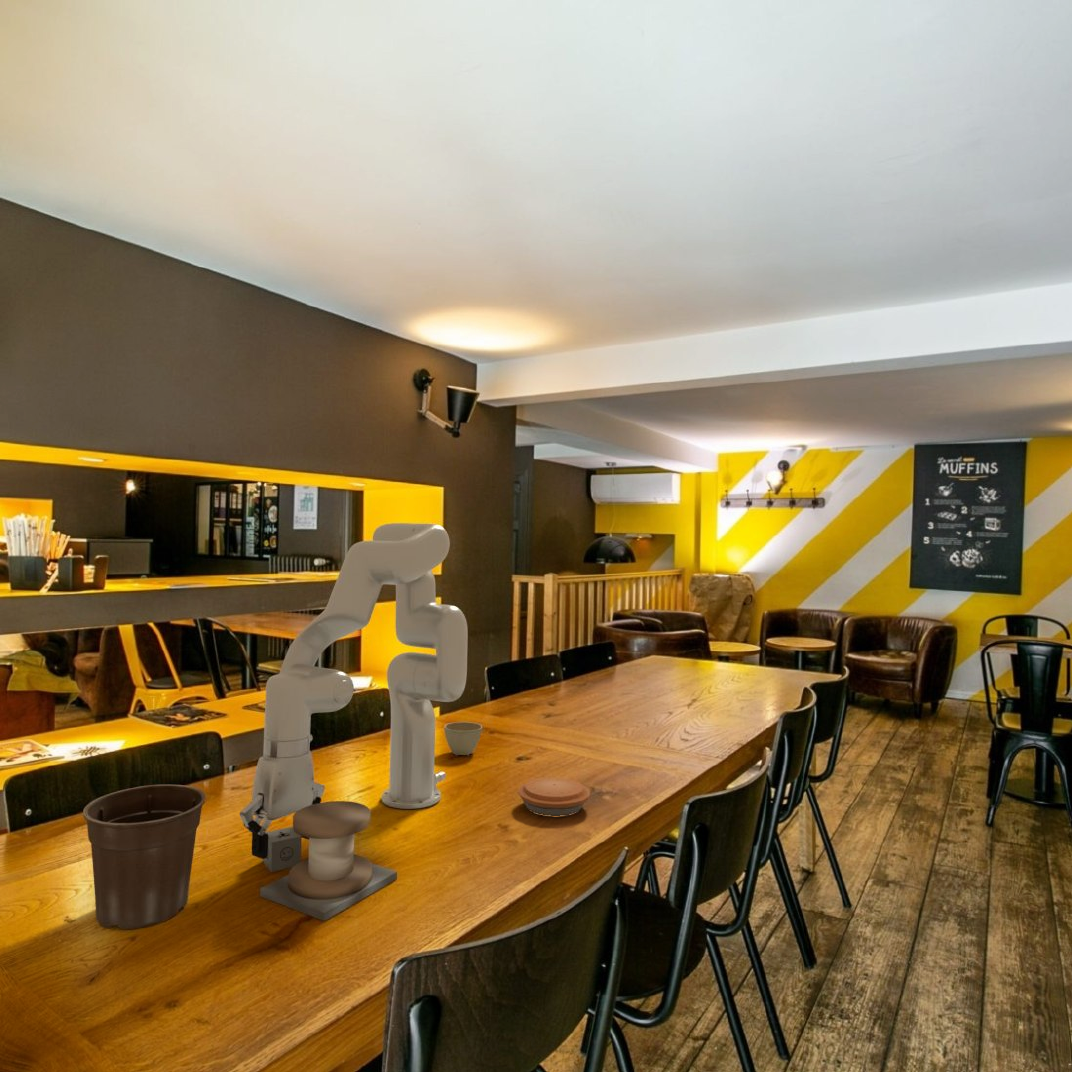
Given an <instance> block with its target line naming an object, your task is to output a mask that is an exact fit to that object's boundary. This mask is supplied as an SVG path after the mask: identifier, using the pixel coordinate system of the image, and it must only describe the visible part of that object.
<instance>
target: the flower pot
mask: <svg viewBox="0 0 1072 1072" xmlns="http://www.w3.org/2000/svg"><path fill="white" fill-rule="evenodd" d="M443 727H444V728H443V729H444V736H445V739H446V743H447V745H448V747H449V749H450V751H451V752H452V754H453V755H454V754H455V755H454V756H458V755H467V756H470V755H469V754H471V753H472V754H473V753H474V751H475V749H477V745H478V744H479V741H480V738H481V735H482V730H483V726H482V724H479V723H477V722H470V721H457V722H450V723H446V724H445V725H444V726H443ZM472 754H471V755H472Z"/></svg>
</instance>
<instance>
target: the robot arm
mask: <svg viewBox="0 0 1072 1072" xmlns="http://www.w3.org/2000/svg"><path fill="white" fill-rule="evenodd" d="M450 541H451V540H450V537H449V534H448V532H447V530H446V529H445V528H444V527H442V526H441V525H439V524H436V523H409V522H408V523H407V522H406V523H405V522H403V523H402V522H393V523H386V524H382V525H380V526H378V527H376V528H375V530H374V532H373V534H372V540H363V541H359V542H355V543H354V544H352V545H351V546H350V548H349V549H348V551H347V552H346V556H345V558H344V561H343V563H342V566H341V568H340V570H339V573H338V576H337V578H336V581H335V584H334V586H333V589H332V592H331V594H330V595H329V596H330V597H329V600H328V603H327V605H326V607H325V608H324V610H323V611H321V613H320V614H319V615H318V616H317V617H315V618H314V619H313V620H312V621H311V622H310V623H308V624H307V625H306V627H305V628H303V630H302V631H301V632H299V633H298V634H297V636H296V637H295V638H294V640H293V641H292V643H291V644H290V645H289V648H288V649H287V651H286V654H285V657H284V660H283V662H282V663H281V668H280V670H279V673H277V674H274V675H272V676H270V677H268V679H267V681H266V683H265V684H266V685H265V703H264V705H265V706H264V710H265V711H264V729H263V753H262V754H263V755H262V756H260V757H259V759H258V761H257V765H256V769H255V773H254V774H255V775H254V780H253V788H252V794H251V795H252V796H251V801H250V802H249V803H248V804H247V805H246V806H244V808H242V809H241V810H240V812H239V817H240V818H241V821H242V823H243V827H245V828H246V829H247V830H248V832H250V833H251V855H252V856H254V857H256V858H259V859H262V860H263V859H265V858H267V856H268V834H266V833H265V832H267V830H268V828H269V827H270V825H271V823H272V822H273V821H275V820H278V819H281V818H284V817H287V816H289V815H292V814H295V813H296V812H297V811H299V810H300V809H302V808H305V807H307V806H310V805H313V804H318V803H322V797H323V795H324V792H325V790H326V786H325V784H321V783H318V782H316V781H315V770H314V761H313V756H312V755H313V754H312V751H311V750H310V743H311V742H312V741H313V735H312V734H311V720H312V719H311V716H312V714H315V713H317V714H318V713H331V712H337V711H339V710H341V709H343V708H345V707H346V706H347V705H348V704H349V703H350V701H351V699H352V698H353V695H354V690H355V687H354V682H353V680H352V678H351V677H350V676H349V675H348V674H347V673H346V672H345V671H341V670H340V669H333V668H327V667H326V668H325V667H322V666H321V667H320V666H315V665H316V663H317V661H318V659H319V657H320V655H321V654H322V653H323V652H324V651H325V650H326V649H327V648H328V647H329V646H330V645H331V644H333V643H335V642H336V641H338V640H339V639H341V638H344V637H346V636H348V635H350V634H353V633H355V632H357V631H359V630H363V628H366V627H367V626H368V625H369V623H370V620H371V619H372V615H373V612H374V609H375V606H376V604H377V602H378V598H379V596H380V592H381V589H382V587H383V585H393V586H394V585H395V625H394V626H395V636H396V639H397V641H398V642H400V643H401V644H402V645H403V646H404V645H405V646H408V647H415V648H421V649H430V650H431V649H433V650H435V652H436V653H435V654H432V653H425V652H416V651H415V652H414V651H413V652H411V651H409V652H402V653H400V654H398V655H396V656H394V657H393V659H391V661H390V662H389V664H388V667H387V672H386V680H387V687H388V692H389V699H390V700H389V701H390V742H389V743H390V744H389V745H390V746H389V748H390V749H389V787H388V789H386V790H384V791H383V792H382V794H381V802H382V803H383V804H384V805H386V806H388V807H391V808H393V809H394V808H395V809H404V810H412V809H413V810H415V809H423V808H427V807H431V806H433V805H436V804H437V803H438V802H440V800H441V798H442V796H441V795H442V793H441V791H440V790H439V789H438V788H437V784H438V783H439V782H442V781H444V780H445V779H446V777H447V774H446V772H445V771H443V770H442V771H441V770H440V771H438V772H437V773H436V772H435V755H436V753H435V752H436V751H435V748H436V714H435V710H434V708H433V704H432V702H431V701H436V702H443V703H451V702H455V701H457V700H458V699H460V697H461V696H462V695H463V693H464V691H465V688H466V686H467V685H466V684H467V676H468V675H467V672H468V637H469V636H468V635H469V634H468V622H467V618H466V616H465V614H464V613H463V611H462V610H461V609H460V608H459V607H458V606H455V605H451V604H441V603H437V600H436V599H437V598H436V597H437V596H436V595H437V594H436V592H437V591H436V578H435V574H434V572H433V569H436V567H438V566H439V565H440V564H441V563H443V562H444V560H445V559H446V558H447V556H448V554H449V551H450V548H451V547H450V545H451V542H450ZM254 816H255V817H254ZM302 839H305V840H307V841H309V838H308V837H304V836H302Z"/></svg>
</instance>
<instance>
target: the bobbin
mask: <svg viewBox="0 0 1072 1072" xmlns="http://www.w3.org/2000/svg"><path fill="white" fill-rule="evenodd" d="M293 814H294V815H293V816H292V827H293V830H294V832H295V833H297V834H299V835H301V836H304V837H308V838H309V840H308V858H306V859H304V860H301V862H299V863H298V864H296V865H295V866H294V867H291V868H290V870H289V872H288V874H287V875H286V876H283V877H281V878H279V879H277V880H275V881H273V882H270V883H268V884H267V885H265V886H263V887H260V888H259V896H260V897H262V898H263V899H266V900H269V901H270V902H275V903H276V904H280V905H281V906H284V907H286V908H290V909H292V910H295V911H297V912H299V913H302V914H304V915H308V916H310V917H313V918H315V919H318V920H320V921H323V922H326V921H328V920H329V919H331V918H332V917H334V916H336V915H337V914H339V913H341V912H342V911H344V910H346V909H348V908H350V907H352V906H353V905H355V904H356V903H358V902H360V901H362V900H364V899H365V898H367V897H368V896H370V895H372V894H374V893H376V892H377V891H379V890H380V889H382V888H384V887H386V886H387V885H389V884H390V883H393V882H394V881H396V880H397V879H398V871H396V870H393V869H390V868H387V867H384V866H381V865H378V864H376V863H375V864H374V863H372V862H371V861H370V860H369V859H367V857H364V856H361V855H358V854H354V852H355V850H354V849H355V834H358V833H360V832H362V831H364V830H366V829H367V828H368V826H370V824H371V809H370V808H369V807H368V806H366V805H365V804H362V803H359V802H356V801H344V800H333V801H324V802H320V803H318V804H313V805H310V806H307V807H305V808H302V809H300V810H299V811H297V812H295V813H293Z"/></svg>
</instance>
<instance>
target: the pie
mask: <svg viewBox="0 0 1072 1072" xmlns="http://www.w3.org/2000/svg"><path fill="white" fill-rule="evenodd" d="M517 794H518V795H519V797H520V799H522V801H523V803H524V805H525V806H527V807H526V808H527V809H529V810H531V811H532V812H535V813H538V814H543V815H551V816H560V815H569V814H572V813H575V812H577V811H579V812H580V810H581V809H582V808H583V805H584V804H585V803H586V802H587V801H588V799H589V798H590V795H591V790H590V789H589V788H588V787H586V786H585V785H584V784H582V783H581V782H578V781H577V780H573V779H570V778H566V777H565V778H564V777H559V776H558V777H556V776H548V777H547V776H546V777H538V778H534V779H531V780H529V781H527V782H525V783H523V784H521V785H520V786H519V787H518V788H517ZM529 810H528V811H529ZM531 811H530V812H531ZM532 812H531V813H532ZM577 813H578V812H577Z"/></svg>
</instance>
